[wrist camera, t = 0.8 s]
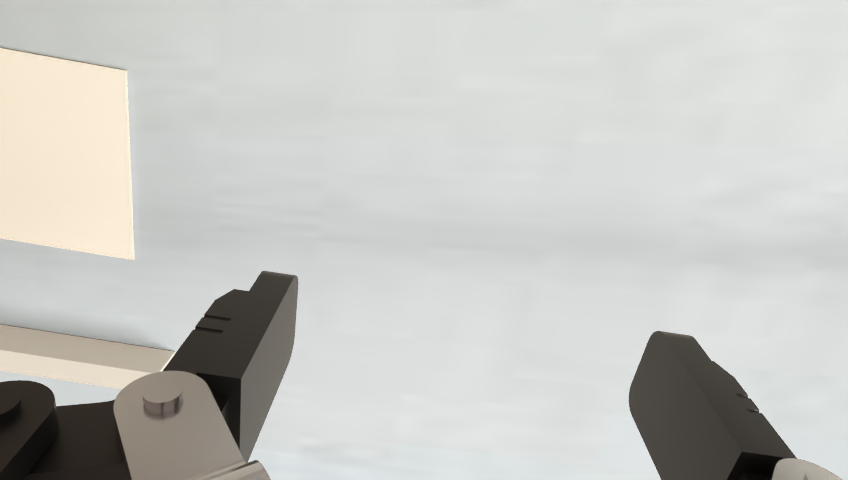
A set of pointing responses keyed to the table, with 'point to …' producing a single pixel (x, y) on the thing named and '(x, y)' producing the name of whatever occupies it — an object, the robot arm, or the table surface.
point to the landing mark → (65, 155)
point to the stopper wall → (77, 357)
